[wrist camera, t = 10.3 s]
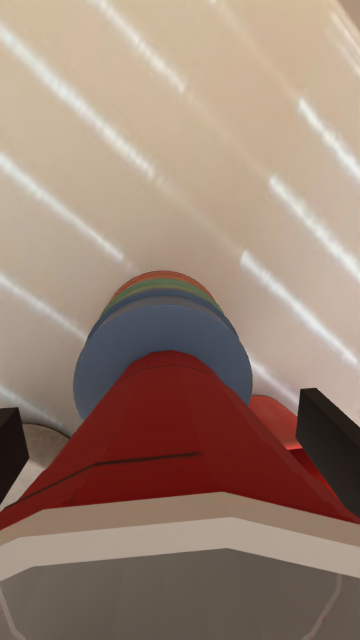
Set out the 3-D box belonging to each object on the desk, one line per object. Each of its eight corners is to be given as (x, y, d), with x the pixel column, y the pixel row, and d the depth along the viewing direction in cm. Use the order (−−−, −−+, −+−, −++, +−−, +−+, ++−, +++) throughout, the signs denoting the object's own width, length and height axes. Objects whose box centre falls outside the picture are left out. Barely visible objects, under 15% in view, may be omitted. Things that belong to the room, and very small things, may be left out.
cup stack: (98, 272, 24) (42, 295, 13) (220, 268, 25) (271, 286, 14) (110, 383, 28) (74, 481, 16) (219, 377, 28) (259, 466, 17)
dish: (-49, 501, 30) (-89, 549, 25) (-28, 401, 27) (-69, 434, 22) (76, 526, 32) (61, 575, 28) (109, 436, 29) (99, 474, 24)
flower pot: (288, 368, 29) (350, 426, 19) (307, 445, 32) (368, 529, 22) (197, 399, 29) (214, 472, 19) (223, 473, 32) (250, 567, 22)
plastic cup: (179, 254, 13) (341, 317, 1) (293, 399, 16) (676, 839, 4) (23, 385, 14) (-597, 1007, 3) (154, 498, 17) (139, 1049, 5)
